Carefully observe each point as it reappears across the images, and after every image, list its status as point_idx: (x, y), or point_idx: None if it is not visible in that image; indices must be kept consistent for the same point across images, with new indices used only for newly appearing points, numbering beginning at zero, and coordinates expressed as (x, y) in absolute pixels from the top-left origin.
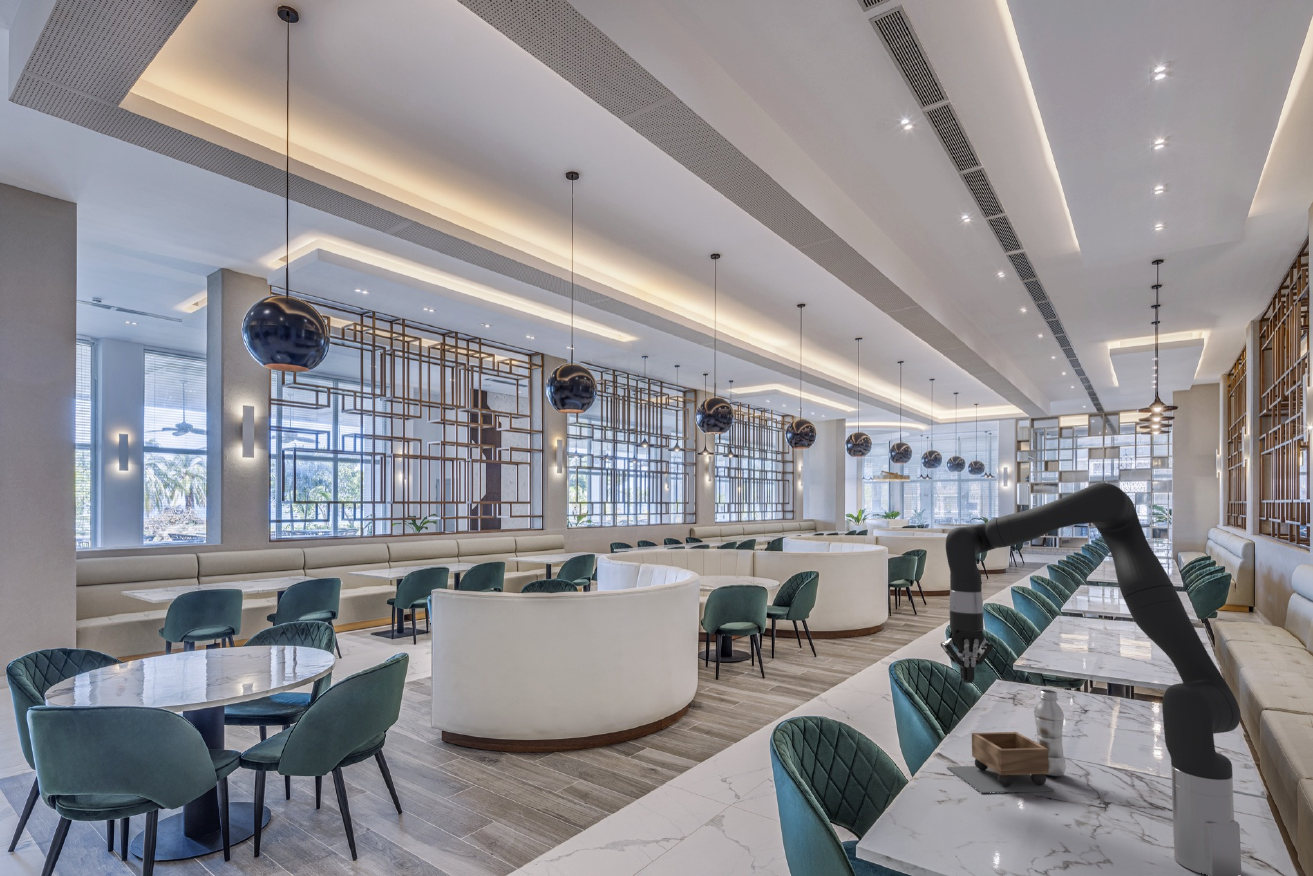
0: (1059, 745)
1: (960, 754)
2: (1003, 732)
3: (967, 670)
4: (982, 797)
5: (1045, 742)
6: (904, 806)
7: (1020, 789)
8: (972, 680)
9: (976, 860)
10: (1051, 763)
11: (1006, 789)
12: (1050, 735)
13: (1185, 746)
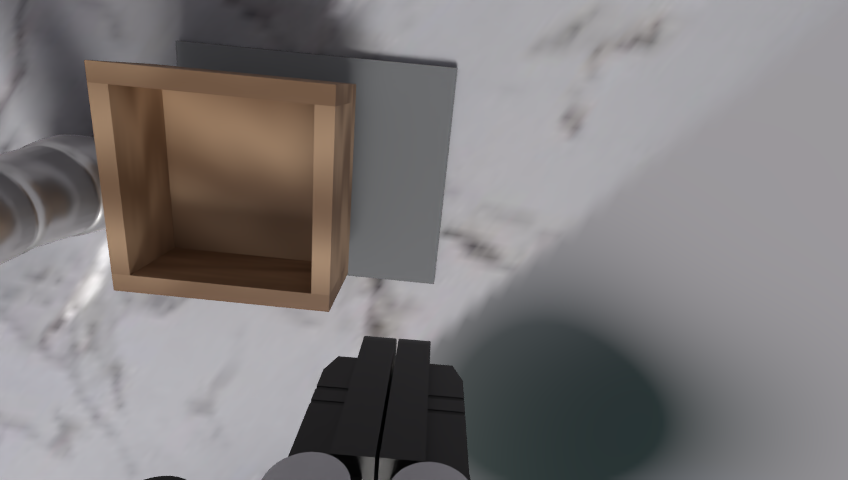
0: None
1: (312, 374)
2: (177, 295)
3: (420, 432)
4: (471, 41)
5: (37, 184)
6: (805, 20)
7: (298, 64)
8: (364, 346)
9: None
10: (84, 148)
11: (350, 72)
12: None
13: None
